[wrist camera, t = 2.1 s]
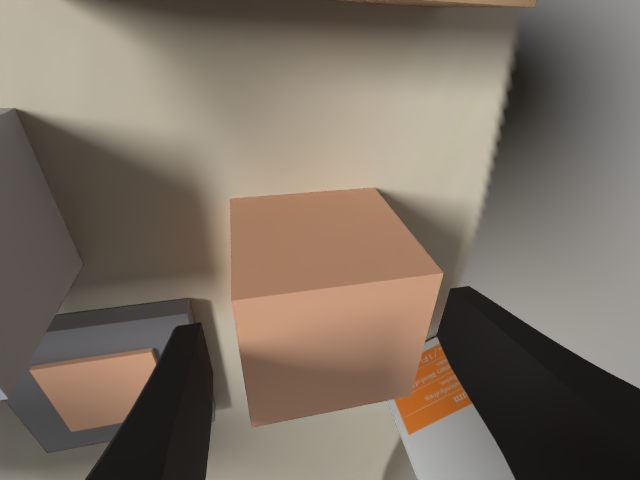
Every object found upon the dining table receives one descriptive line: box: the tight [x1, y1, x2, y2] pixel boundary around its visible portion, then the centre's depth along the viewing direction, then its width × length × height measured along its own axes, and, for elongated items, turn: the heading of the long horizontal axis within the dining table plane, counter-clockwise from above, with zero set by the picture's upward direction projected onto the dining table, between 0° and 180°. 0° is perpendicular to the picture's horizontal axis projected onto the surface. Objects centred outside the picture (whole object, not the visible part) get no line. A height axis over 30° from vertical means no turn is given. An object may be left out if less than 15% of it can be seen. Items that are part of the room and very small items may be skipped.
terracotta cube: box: [230, 188, 444, 427], centre depth 11 cm, size 5×5×5 cm
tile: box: [5, 299, 215, 453], centre depth 14 cm, size 7×7×1 cm
